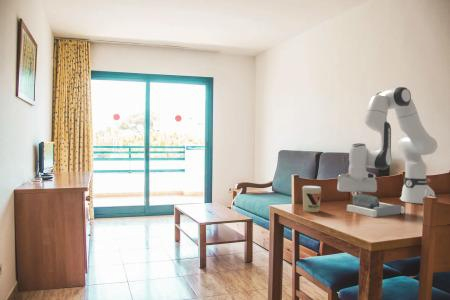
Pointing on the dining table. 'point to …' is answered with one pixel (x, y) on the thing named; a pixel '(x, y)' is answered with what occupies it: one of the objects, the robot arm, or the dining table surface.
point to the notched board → (377, 210)
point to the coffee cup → (311, 198)
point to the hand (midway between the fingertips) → (356, 199)
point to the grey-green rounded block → (365, 201)
